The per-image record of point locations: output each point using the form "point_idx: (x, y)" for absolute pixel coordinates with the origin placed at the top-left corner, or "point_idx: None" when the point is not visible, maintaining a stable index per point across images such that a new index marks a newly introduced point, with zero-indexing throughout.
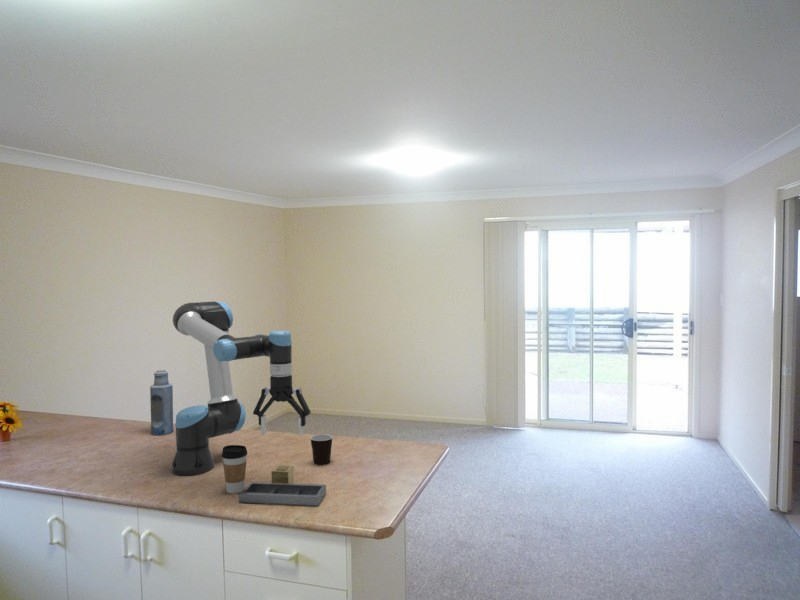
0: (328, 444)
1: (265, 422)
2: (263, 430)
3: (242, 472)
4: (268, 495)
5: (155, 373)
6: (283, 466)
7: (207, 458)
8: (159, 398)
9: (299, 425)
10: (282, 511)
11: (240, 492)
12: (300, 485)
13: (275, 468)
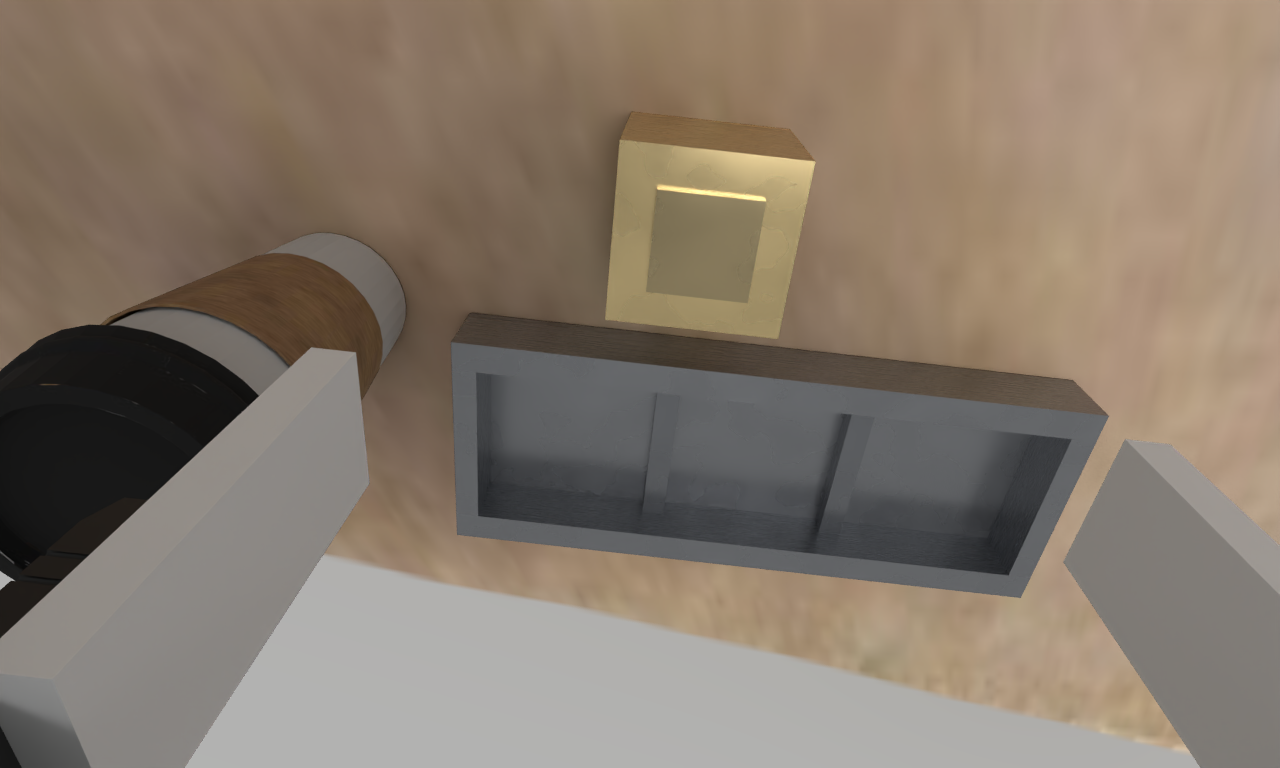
0: None
1: (227, 528)
2: (330, 538)
3: None
4: (669, 556)
5: None
6: (705, 211)
7: None
8: None
9: (1212, 752)
10: (776, 597)
11: (456, 515)
12: (888, 417)
13: (624, 243)
